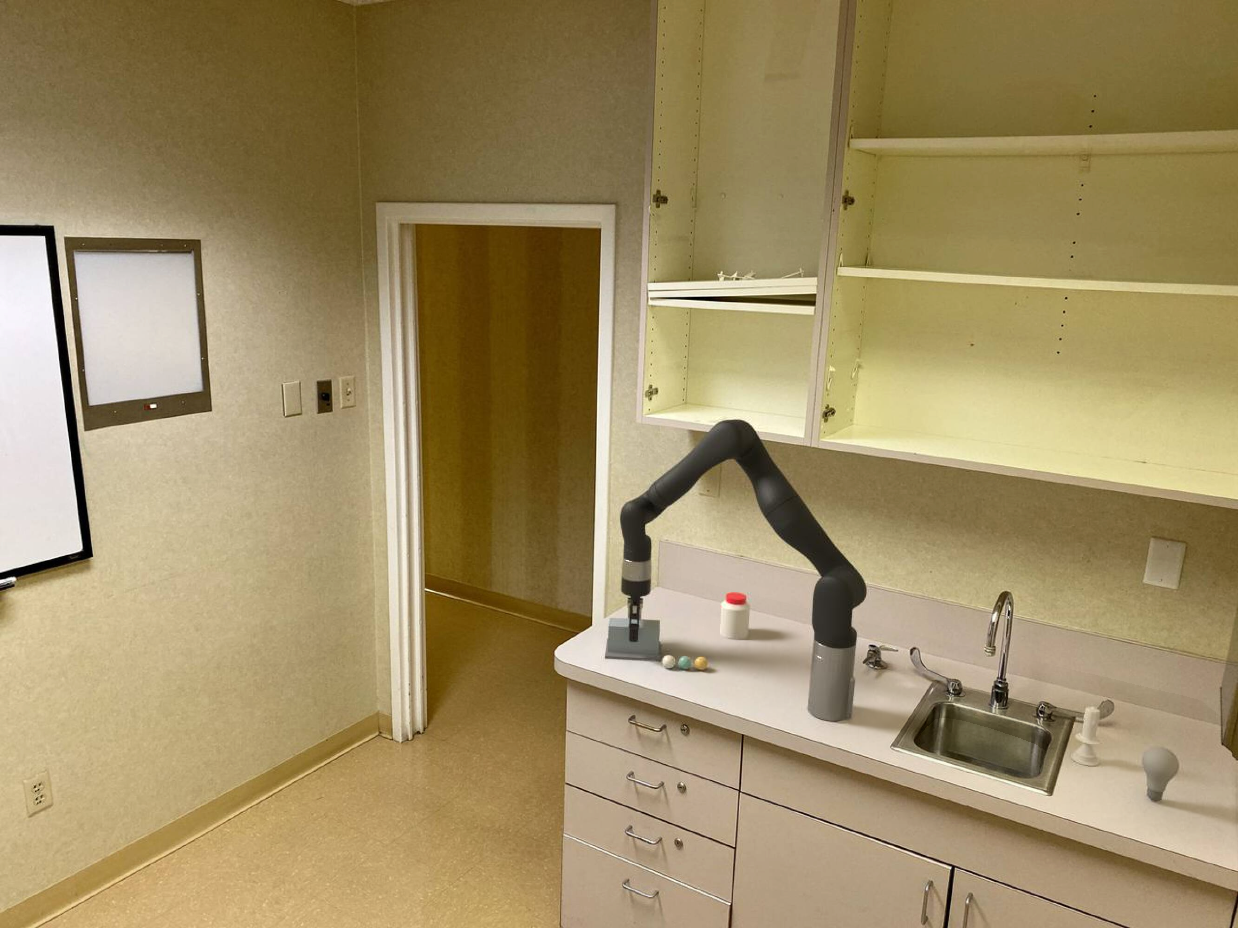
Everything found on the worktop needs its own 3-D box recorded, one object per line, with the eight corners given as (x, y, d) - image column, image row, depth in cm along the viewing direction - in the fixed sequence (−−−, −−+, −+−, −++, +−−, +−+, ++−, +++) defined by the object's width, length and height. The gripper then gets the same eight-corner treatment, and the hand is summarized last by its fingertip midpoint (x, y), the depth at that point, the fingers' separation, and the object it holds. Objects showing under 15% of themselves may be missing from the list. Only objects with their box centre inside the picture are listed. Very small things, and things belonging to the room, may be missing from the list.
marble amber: (706, 666, 225) (707, 654, 224) (707, 672, 221) (708, 660, 221) (694, 666, 225) (694, 654, 224) (694, 671, 222) (695, 659, 221)
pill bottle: (747, 629, 249) (750, 591, 247) (748, 640, 241) (751, 601, 239) (719, 627, 250) (721, 589, 247) (719, 638, 242) (722, 599, 240)
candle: (1072, 749, 191) (1081, 697, 189) (1100, 758, 188) (1109, 705, 186) (1068, 760, 187) (1076, 707, 184) (1097, 769, 184) (1106, 715, 181)
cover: (658, 645, 235) (659, 620, 233) (658, 654, 229) (659, 628, 228) (608, 642, 235) (609, 617, 234) (607, 651, 230) (608, 625, 228)
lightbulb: (1162, 813, 169) (1172, 760, 167) (1129, 797, 174) (1138, 745, 172) (1177, 803, 173) (1187, 751, 171) (1144, 787, 178) (1153, 737, 175)
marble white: (674, 665, 225) (675, 653, 224) (674, 670, 222) (675, 658, 221) (661, 664, 225) (662, 652, 224) (661, 670, 222) (662, 657, 221)
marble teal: (690, 666, 225) (691, 654, 224) (691, 671, 222) (691, 659, 221) (677, 665, 225) (678, 653, 224) (678, 670, 222) (678, 658, 221)
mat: (660, 643, 238) (660, 641, 237) (660, 661, 227) (660, 658, 227) (607, 640, 238) (607, 638, 238) (604, 658, 227) (604, 655, 227)
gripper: (651, 585, 221) (648, 646, 224) (651, 566, 235) (648, 624, 238) (620, 583, 221) (618, 645, 225) (622, 565, 235) (620, 623, 239)
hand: (633, 634), depth 231 cm, fingers open, 8 cm apart
